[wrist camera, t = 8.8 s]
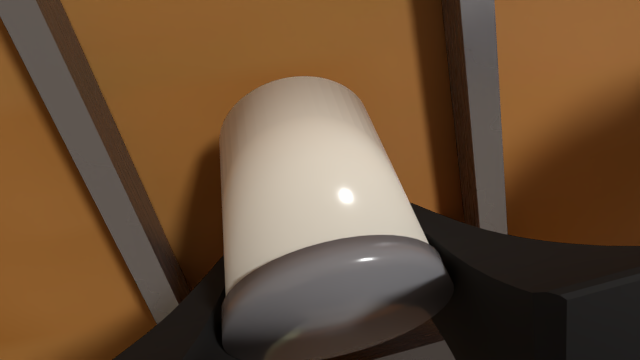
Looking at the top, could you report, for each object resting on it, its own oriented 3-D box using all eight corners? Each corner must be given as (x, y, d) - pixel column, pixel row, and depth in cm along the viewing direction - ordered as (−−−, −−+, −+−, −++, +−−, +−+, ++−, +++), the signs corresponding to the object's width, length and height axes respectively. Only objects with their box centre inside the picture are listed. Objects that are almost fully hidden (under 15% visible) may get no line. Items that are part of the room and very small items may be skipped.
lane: (456, -214, 9) (499, -280, 8) (497, 321, 16) (526, 357, 14) (-26, -97, 9) (-104, -135, 7) (213, 399, 16) (205, 446, 14)
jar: (372, 55, 9) (478, 239, 6) (372, 174, 13) (436, 330, 9) (189, 95, 9) (179, 313, 5) (241, 205, 13) (257, 377, 9)
